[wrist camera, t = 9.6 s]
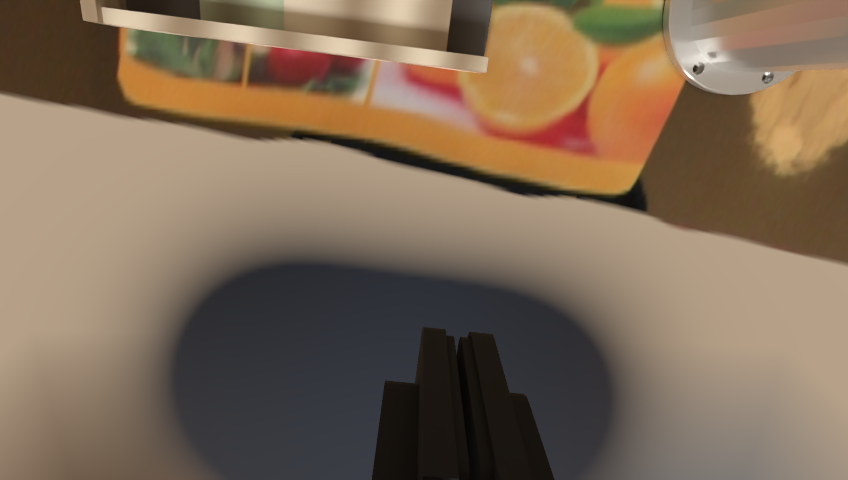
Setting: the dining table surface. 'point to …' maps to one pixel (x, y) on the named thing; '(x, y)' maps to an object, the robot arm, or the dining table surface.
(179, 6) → the channel board
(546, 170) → the dining table surface
